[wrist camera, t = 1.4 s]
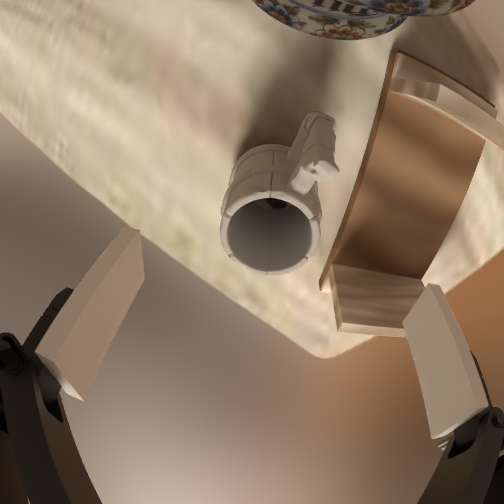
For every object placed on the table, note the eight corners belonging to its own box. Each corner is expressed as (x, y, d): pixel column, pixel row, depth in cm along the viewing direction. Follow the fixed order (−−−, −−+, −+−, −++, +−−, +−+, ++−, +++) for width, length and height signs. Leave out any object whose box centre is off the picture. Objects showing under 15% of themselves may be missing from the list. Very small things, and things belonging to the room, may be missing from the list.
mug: (219, 195, 27) (183, 277, 17) (276, 85, 20) (274, 91, 10) (288, 228, 28) (290, 320, 18) (353, 128, 21) (409, 177, 12)
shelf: (390, 50, 16) (448, 44, 9) (486, 103, 17) (549, 128, 9) (318, 281, 32) (326, 349, 24) (402, 294, 32) (424, 354, 24)
